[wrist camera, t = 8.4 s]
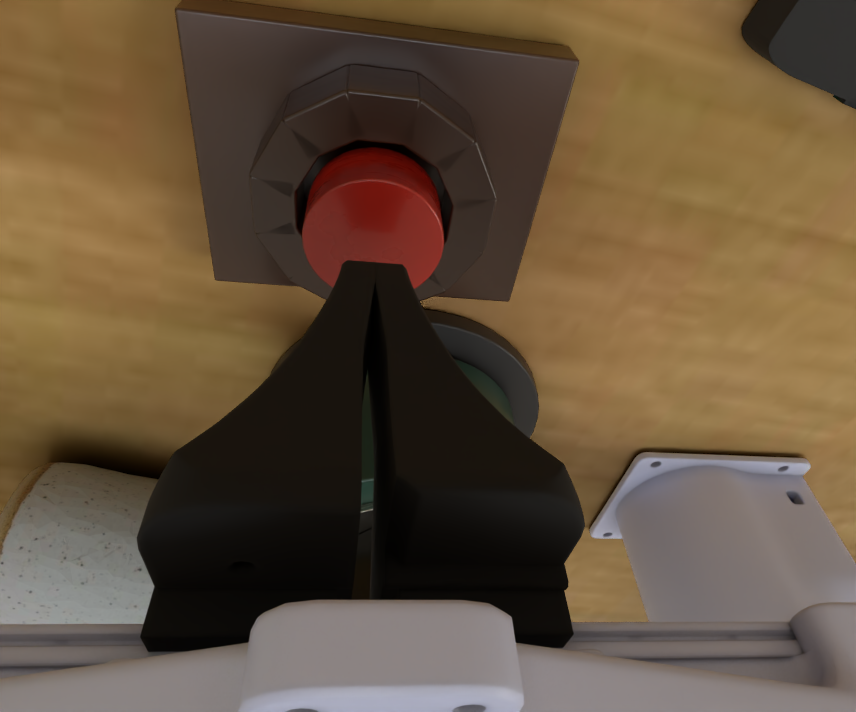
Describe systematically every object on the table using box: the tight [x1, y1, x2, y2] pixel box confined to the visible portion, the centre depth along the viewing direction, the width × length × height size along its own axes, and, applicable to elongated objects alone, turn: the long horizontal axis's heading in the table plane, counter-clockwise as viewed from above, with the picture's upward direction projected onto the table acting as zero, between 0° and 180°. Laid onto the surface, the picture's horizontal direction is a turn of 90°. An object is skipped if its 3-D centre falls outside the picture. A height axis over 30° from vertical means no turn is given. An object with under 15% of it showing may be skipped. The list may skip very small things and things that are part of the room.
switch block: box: [175, 0, 579, 301], centre depth 17 cm, size 10×8×3 cm
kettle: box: [352, 359, 515, 600], centre depth 22 cm, size 16×10×9 cm, turn 38°
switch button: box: [302, 147, 444, 289], centre depth 15 cm, size 4×4×2 cm
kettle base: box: [271, 310, 539, 438], centre depth 26 cm, size 12×12×1 cm
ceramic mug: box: [0, 462, 158, 624], centre depth 27 cm, size 11×8×8 cm
